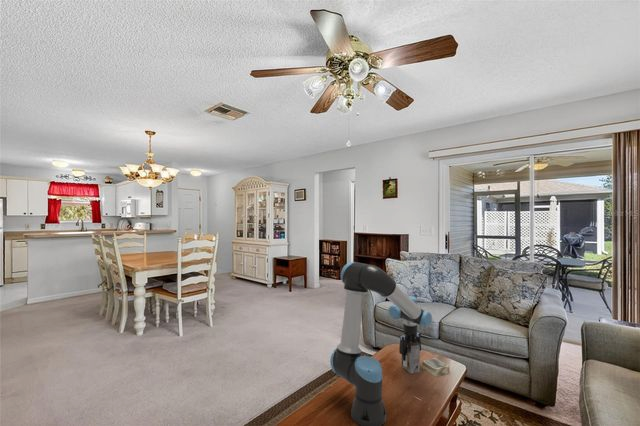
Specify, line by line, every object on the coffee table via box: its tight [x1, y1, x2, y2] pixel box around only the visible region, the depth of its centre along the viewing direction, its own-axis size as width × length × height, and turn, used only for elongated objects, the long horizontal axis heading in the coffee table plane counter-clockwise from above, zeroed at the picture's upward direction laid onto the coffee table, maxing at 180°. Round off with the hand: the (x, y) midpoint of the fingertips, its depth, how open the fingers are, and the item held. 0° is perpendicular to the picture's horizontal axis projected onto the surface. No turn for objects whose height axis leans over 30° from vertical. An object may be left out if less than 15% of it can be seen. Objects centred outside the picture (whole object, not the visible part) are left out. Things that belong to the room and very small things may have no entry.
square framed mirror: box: [422, 357, 450, 378], centre depth 165 cm, size 10×10×4 cm
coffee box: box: [401, 341, 421, 374], centre depth 167 cm, size 9×6×16 cm
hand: (410, 364), depth 167 cm, fingers closed on coffee box, 7 cm apart
